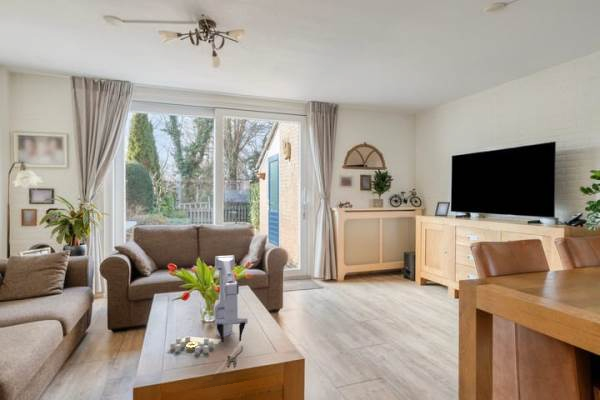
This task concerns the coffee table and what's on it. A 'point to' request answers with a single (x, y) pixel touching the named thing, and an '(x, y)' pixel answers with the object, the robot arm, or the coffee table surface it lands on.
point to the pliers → (233, 358)
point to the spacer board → (201, 350)
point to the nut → (191, 346)
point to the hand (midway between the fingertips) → (231, 341)
